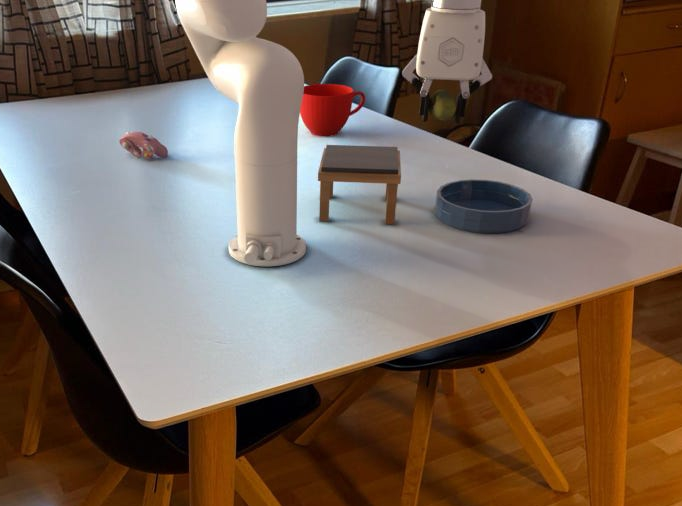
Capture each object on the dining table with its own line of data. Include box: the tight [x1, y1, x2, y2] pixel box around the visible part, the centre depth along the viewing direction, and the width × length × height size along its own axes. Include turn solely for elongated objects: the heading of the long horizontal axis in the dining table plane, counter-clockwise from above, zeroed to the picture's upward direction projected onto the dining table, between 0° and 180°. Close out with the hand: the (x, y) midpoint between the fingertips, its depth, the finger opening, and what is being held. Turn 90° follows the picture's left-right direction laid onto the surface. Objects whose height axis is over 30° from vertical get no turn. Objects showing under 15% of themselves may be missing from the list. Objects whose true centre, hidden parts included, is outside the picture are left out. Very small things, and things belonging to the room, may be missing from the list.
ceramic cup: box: [299, 83, 366, 138], centre depth 172 cm, size 13×17×10 cm
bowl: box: [434, 178, 533, 234], centre depth 128 cm, size 16×16×4 cm
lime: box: [428, 89, 457, 122], centre depth 120 cm, size 4×5×5 cm
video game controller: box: [119, 131, 169, 160], centre depth 158 cm, size 10×5×7 cm, turn 62°
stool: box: [317, 144, 402, 225], centre depth 130 cm, size 14×14×10 cm
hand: (440, 119), depth 121 cm, fingers closed on lime, 4 cm apart
